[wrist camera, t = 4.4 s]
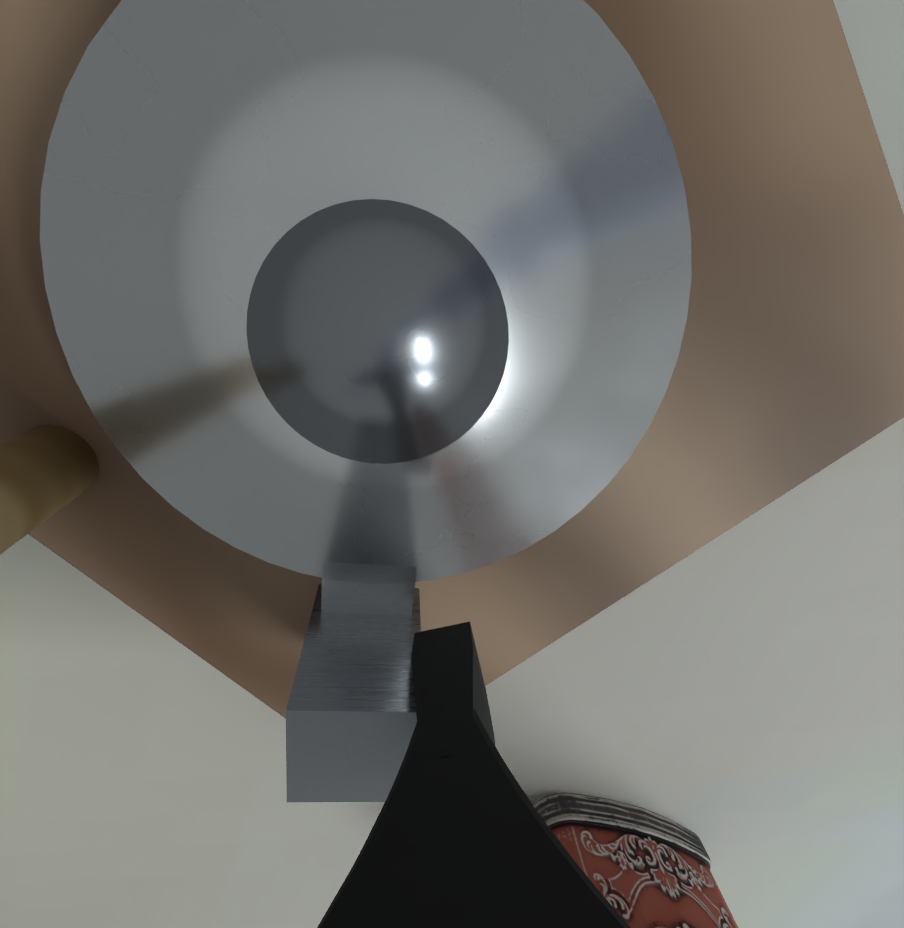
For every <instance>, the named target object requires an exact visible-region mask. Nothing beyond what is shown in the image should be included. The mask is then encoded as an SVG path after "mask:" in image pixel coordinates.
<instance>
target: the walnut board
mask: <svg viewBox="0 0 904 928" xmlns="http://www.w3.org/2000/svg"><path fill="white" fill-rule="evenodd" d="M121 1H122V0H0V554H1V553H3V552H4V551H5V550H7V549H8V548H9V547H11V546H12V545H13V544H15V543H16V542H17V541H19V540H20V539H21V538H23V537H24V536H25V535H27V534H29V535H31V536H32V537H33V538H35V539H36V540H38V541H39V542H40V543H42V544H43V545H45V546H46V547H47V548H49V549H50V550H52V551H53V552H54V553H56V554H57V555H58V556H60V557H61V558H63V559H64V560H65V561H67V562H68V563H70V564H71V565H72V566H74V567H75V568H77V569H78V570H79V571H81V572H82V573H84V574H85V575H86V576H88V577H89V578H91V579H92V580H93V581H95V582H96V583H98V584H99V585H100V586H102V587H103V588H105V589H106V590H107V591H109V592H110V593H111V594H113V595H114V596H116V597H117V598H118V599H120V600H121V601H123V602H124V603H125V604H127V605H128V606H130V607H131V608H132V609H134V610H135V611H137V612H138V613H139V614H141V615H142V616H144V617H145V618H146V619H148V620H149V621H151V622H152V623H153V624H155V625H156V626H158V627H159V628H160V629H162V630H163V631H164V632H166V633H167V634H169V635H170V636H171V637H173V638H174V639H176V640H177V641H178V642H180V643H181V644H183V645H184V646H185V647H187V648H188V649H190V650H191V651H192V652H194V653H195V654H197V655H198V656H199V657H201V658H202V659H204V660H205V661H206V662H208V663H209V664H211V665H212V666H213V667H215V668H216V669H217V670H219V671H220V672H222V673H223V674H224V675H226V676H227V677H229V678H230V679H231V680H233V681H234V682H236V683H237V684H238V685H240V686H241V687H243V688H244V689H245V690H247V691H248V692H250V693H251V694H252V695H254V696H255V697H257V698H258V699H259V700H261V701H262V702H264V703H265V704H266V705H268V706H269V707H270V708H272V709H273V710H275V711H276V712H277V713H279V714H280V715H282V716H283V717H284V718H286V708H287V705H288V701H289V697H290V693H291V689H292V686H293V682H294V678H295V674H296V670H297V666H298V663H299V659H300V655H301V651H302V647H303V643H304V640H305V636H306V632H307V628H308V624H309V620H310V617H311V613H312V609H313V605H314V601H315V597H316V594H317V590H318V586H319V584H322V578H321V577H316V576H312V575H307V574H302V573H299V572H296V571H293V570H290V569H287V568H284V567H280V566H277V565H274V564H271V563H268V562H266V561H264V560H261V559H259V558H257V557H255V556H253V555H250V554H248V553H246V552H244V551H241V550H239V549H237V548H235V547H233V546H231V545H230V544H228V543H226V542H225V541H223V540H221V539H219V538H218V537H216V536H214V535H213V534H211V533H209V532H207V531H206V530H204V529H203V528H201V527H200V526H198V525H197V524H196V523H194V522H193V521H192V520H190V519H189V518H188V517H186V516H185V515H184V514H182V513H181V512H180V511H178V510H177V509H175V508H174V507H173V506H172V505H171V504H169V503H168V502H167V501H166V500H165V499H164V498H163V497H162V496H161V495H160V494H159V493H158V492H157V491H155V490H154V489H153V488H152V487H151V486H150V485H149V484H148V483H147V482H146V481H145V480H144V479H143V478H142V477H141V476H140V475H139V474H138V473H137V471H136V470H135V469H134V468H133V467H132V466H131V464H130V463H129V462H128V461H127V460H126V459H125V458H124V456H123V455H122V454H121V453H120V452H119V451H118V449H117V448H116V447H115V445H114V444H113V442H112V441H111V439H110V438H109V437H108V435H107V434H106V432H105V431H104V429H103V428H102V426H101V425H100V423H99V422H98V420H97V419H96V418H95V416H94V415H93V413H92V411H91V409H90V407H89V405H88V404H87V402H86V400H85V398H84V396H83V394H82V392H81V390H80V388H79V386H78V385H77V383H76V381H75V379H74V377H73V375H72V372H71V370H70V367H69V365H68V362H67V359H66V357H65V354H64V352H63V349H62V346H61V344H60V341H59V338H58V336H57V333H56V329H55V325H54V321H53V317H52V313H51V309H50V305H49V301H48V297H47V293H46V289H45V282H44V273H43V264H42V255H41V247H40V204H41V186H42V180H43V174H44V168H45V162H46V156H47V150H48V144H49V139H50V136H51V133H52V130H53V127H54V124H55V121H56V117H57V114H58V111H59V108H60V105H61V102H62V99H63V96H64V93H65V90H66V88H67V86H68V84H69V82H70V80H71V78H72V76H73V75H74V73H75V71H76V69H77V67H78V65H79V63H80V61H81V59H82V57H83V55H84V53H85V51H86V49H87V47H88V45H89V44H90V42H91V41H92V39H93V38H94V37H95V35H96V34H97V33H98V31H99V30H100V29H101V27H102V26H103V24H104V23H105V22H106V20H107V19H108V18H109V16H110V15H111V14H112V12H113V11H114V9H115V8H116V7H117V5H118V4H119V3H120V2H121ZM584 1H585V2H586V3H587V4H588V5H589V6H590V7H591V8H592V9H593V10H594V11H595V12H596V13H597V14H598V15H599V16H600V17H601V19H602V20H603V21H604V23H605V24H606V25H607V26H608V28H609V29H610V30H611V32H612V33H613V34H614V36H615V37H616V38H617V39H618V41H619V42H620V43H621V45H622V46H623V47H624V48H625V50H626V51H627V52H628V54H629V55H630V57H631V58H632V60H633V62H634V64H635V65H636V67H637V69H638V71H639V72H640V74H641V76H642V78H643V79H644V81H645V83H646V84H647V86H648V88H649V90H650V91H651V93H652V95H653V97H654V99H655V101H656V103H657V106H658V108H659V111H660V113H661V116H662V118H663V120H664V123H665V125H666V128H667V130H668V133H669V135H670V138H671V140H672V142H673V146H674V150H675V153H676V157H677V161H678V165H679V168H680V172H681V176H682V180H683V183H684V187H685V193H686V200H687V208H688V215H689V222H690V230H691V271H692V277H691V287H690V296H689V306H688V315H687V321H686V325H685V330H684V334H683V339H682V343H681V347H680V352H679V356H678V359H677V362H676V365H675V368H674V371H673V374H672V376H671V379H670V382H669V385H668V388H667V391H666V393H665V396H664V398H663V400H662V402H661V404H660V406H659V408H658V410H657V412H656V414H655V416H654V418H653V420H652V422H651V424H650V426H649V428H648V430H647V431H646V433H645V434H644V436H643V437H642V439H641V441H640V442H639V444H638V445H637V447H636V448H635V450H634V451H633V453H632V455H631V456H630V458H629V459H628V460H627V461H626V463H625V464H624V465H623V466H622V468H621V469H620V470H619V471H618V473H617V474H616V475H615V476H614V477H613V479H612V480H611V481H610V482H609V484H608V485H607V486H606V487H605V488H604V489H603V490H602V491H601V492H600V493H599V494H598V495H597V496H596V497H595V498H594V499H593V500H592V501H591V502H590V503H589V504H588V505H587V506H586V507H584V508H583V509H582V510H581V511H580V512H579V513H577V514H576V515H575V516H574V517H572V518H571V519H570V520H568V521H567V522H566V523H565V524H563V525H562V526H561V527H559V528H558V529H557V530H556V531H554V532H552V533H551V534H549V535H547V536H546V537H544V538H543V539H541V540H539V541H538V542H536V543H534V544H533V545H531V546H530V547H528V548H526V549H524V550H522V551H520V552H518V553H515V554H513V555H511V556H509V557H507V558H505V559H503V560H501V561H499V562H496V563H493V564H490V565H487V566H484V567H481V568H479V569H476V570H473V571H470V572H467V573H463V574H458V575H454V576H449V577H445V578H441V579H436V580H429V581H420V582H415V588H419V594H420V619H421V632H422V631H426V630H431V629H436V628H441V627H442V628H443V627H446V626H450V625H455V624H460V623H465V622H470V624H471V628H472V632H473V637H474V641H475V645H476V650H477V654H478V658H479V663H480V667H481V671H482V675H483V680H484V684H485V686H486V685H487V684H489V683H490V682H492V681H493V680H495V679H496V678H498V677H500V676H501V675H503V674H504V673H506V672H507V671H509V670H510V669H512V668H514V667H515V666H517V665H518V664H520V663H521V662H523V661H525V660H526V659H528V658H529V657H531V656H532V655H534V654H535V653H537V652H539V651H540V650H542V649H543V648H545V647H546V646H548V645H549V644H551V643H553V642H554V641H556V640H557V639H559V638H560V637H562V636H563V635H565V634H567V633H568V632H570V631H571V630H573V629H574V628H576V627H577V626H579V625H581V624H582V623H584V622H585V621H587V620H588V619H590V618H592V617H593V616H595V615H596V614H598V613H599V612H601V611H602V610H604V609H606V608H607V607H609V606H610V605H612V604H613V603H615V602H616V601H618V600H620V599H621V598H623V597H624V596H626V595H627V594H629V593H630V592H632V591H634V590H635V589H637V588H638V587H640V586H641V585H643V584H645V583H646V582H648V581H649V580H651V579H652V578H654V577H655V576H657V575H659V574H660V573H662V572H663V571H665V570H666V569H668V568H669V567H671V566H673V565H674V564H676V563H677V562H679V561H680V560H682V559H683V558H685V557H687V556H688V555H690V554H691V553H693V552H694V551H696V550H698V549H699V548H701V547H702V546H704V545H705V544H707V543H708V542H710V541H712V540H713V539H715V538H716V537H718V536H719V535H721V534H722V533H724V532H726V531H727V530H729V529H730V528H732V527H733V526H735V525H736V524H738V523H740V522H741V521H743V520H744V519H746V518H747V517H749V516H750V515H752V514H754V513H755V512H757V511H758V510H760V509H761V508H763V507H765V506H766V505H768V504H769V503H771V502H772V501H774V500H775V499H777V498H779V497H780V496H782V495H783V494H785V493H786V492H788V491H789V490H791V489H793V488H794V487H796V486H797V485H799V484H800V483H802V482H803V481H805V480H807V479H808V478H810V477H811V476H813V475H814V474H816V473H818V472H819V471H821V470H822V469H824V468H825V467H827V466H828V465H830V464H832V463H833V462H835V461H836V460H838V459H839V458H841V457H842V456H844V455H846V454H847V453H849V452H850V451H852V450H853V449H855V448H856V447H858V446H860V445H861V444H863V443H864V442H866V441H867V440H869V439H871V438H872V437H874V436H875V435H877V434H878V433H880V432H881V431H883V430H885V429H886V428H888V427H889V426H891V425H892V424H894V423H895V422H897V421H899V420H900V419H902V418H903V417H904V215H903V212H902V209H901V206H900V203H899V200H898V197H897V194H896V190H895V187H894V184H893V181H892V178H891V175H890V172H889V169H888V166H887V163H886V160H885V157H884V154H883V151H882V148H881V145H880V142H879V139H878V136H877V133H876V130H875V127H874V124H873V121H872V117H871V114H870V111H869V108H868V105H867V102H866V99H865V96H864V93H863V90H862V87H861V84H860V81H859V78H858V75H857V72H856V69H855V66H854V63H853V60H852V57H851V54H850V51H849V48H848V44H847V41H846V38H845V35H844V32H843V29H842V26H841V23H840V20H839V17H838V14H837V11H836V8H835V5H834V2H833V0H584Z"/></svg>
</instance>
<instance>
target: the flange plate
mask: <svg viewBox="0 0 904 928" xmlns="http://www.w3.org/2000/svg"><path fill="white" fill-rule="evenodd" d="M40 247H41V255H42V264H43V273H44V282H45V289H46V293H47V297H48V301H49V305H50V309H51V313H52V317H53V321H54V325H55V329H56V333H57V336H58V338H59V341H60V344H61V346H62V349H63V352H64V354H65V357H66V359H67V362H68V365H69V367H70V370H71V372H72V375H73V377H74V379H75V381H76V383H77V385H78V386H79V388H80V390H81V392H82V394H83V396H84V398H85V400H86V402H87V404H88V405H89V407H90V409H91V411H92V413H93V415H94V416H95V418H96V419H97V420H98V422H99V423H100V425H101V426H102V428H103V429H104V431H105V432H106V434H107V435H108V437H109V438H110V439H111V441H112V442H113V444H114V445H115V447H116V448H117V449H118V451H119V452H120V453H121V454H122V455H123V456H124V458H125V459H126V460H127V461H128V462H129V463H130V464H131V466H132V467H133V468H134V469H135V470H136V471H137V473H138V474H139V475H140V476H141V477H142V478H143V479H144V480H145V481H146V482H147V483H148V484H149V485H150V486H151V487H152V488H153V489H154V490H155V491H157V492H158V493H159V494H160V495H161V496H162V497H163V498H164V499H165V500H166V501H167V502H168V503H169V504H171V505H172V506H173V507H174V508H175V509H177V510H178V511H180V512H181V513H182V514H184V515H185V516H186V517H188V518H189V519H190V520H192V521H193V522H194V523H196V524H197V525H198V526H200V527H201V528H203V529H204V530H206V531H207V532H209V533H211V534H213V535H214V536H216V537H218V538H219V539H221V540H223V541H225V542H226V543H228V544H230V545H231V546H233V547H235V548H237V549H239V550H241V551H244V552H246V553H248V554H250V555H253V556H255V557H257V558H259V559H261V560H264V561H266V562H268V563H271V564H274V565H277V566H280V567H284V568H287V569H290V570H293V571H296V572H299V573H302V574H307V575H312V576H316V577H321V578H322V584H319V586H318V590H317V594H316V597H315V601H314V605H313V609H312V613H311V617H310V620H309V624H308V628H307V632H306V636H305V640H304V643H303V647H302V651H301V655H300V659H299V663H298V666H297V670H296V674H295V678H294V682H293V686H292V689H291V693H290V697H289V701H288V705H287V708H286V761H287V802H382V801H386V799H387V797H388V794H389V792H390V790H391V788H392V786H393V783H394V781H395V779H396V776H397V774H398V771H399V769H400V766H401V764H402V762H403V759H404V756H405V754H406V751H407V748H408V746H409V743H410V740H411V737H412V734H413V732H414V729H415V726H416V723H417V714H416V703H415V692H414V680H413V668H412V650H413V641H414V634H415V633H417V632H421V619H420V594H419V588H415V582H420V581H429V580H436V579H441V578H445V577H449V576H454V575H458V574H463V573H467V572H470V571H473V570H476V569H479V568H481V567H484V566H487V565H490V564H493V563H496V562H499V561H501V560H503V559H505V558H507V557H509V556H511V555H513V554H515V553H518V552H520V551H522V550H524V549H526V548H528V547H530V546H531V545H533V544H534V543H536V542H538V541H539V540H541V539H543V538H544V537H546V536H547V535H549V534H551V533H552V532H554V531H556V530H557V529H558V528H559V527H561V526H562V525H563V524H565V523H566V522H567V521H568V520H570V519H571V518H572V517H574V516H575V515H576V514H577V513H579V512H580V511H581V510H582V509H583V508H584V507H586V506H587V505H588V504H589V503H590V502H591V501H592V500H593V499H594V498H595V497H596V496H597V495H598V494H599V493H600V492H601V491H602V490H603V489H604V488H605V487H606V486H607V485H608V484H609V482H610V481H611V480H612V479H613V477H614V476H615V475H616V474H617V473H618V471H619V470H620V469H621V468H622V466H623V465H624V464H625V463H626V461H627V460H628V459H629V458H630V456H631V455H632V453H633V451H634V450H635V448H636V447H637V445H638V444H639V442H640V441H641V439H642V437H643V436H644V434H645V433H646V431H647V430H648V428H649V426H650V424H651V422H652V420H653V418H654V416H655V414H656V412H657V410H658V408H659V406H660V404H661V402H662V400H663V398H664V396H665V393H666V391H667V388H668V385H669V382H670V379H671V376H672V374H673V371H674V368H675V365H676V362H677V359H678V356H679V352H680V347H681V343H682V339H683V334H684V330H685V325H686V321H687V315H688V306H689V296H690V287H691V277H692V271H691V230H690V222H689V215H688V208H687V200H686V193H685V187H684V183H683V180H682V176H681V172H680V168H679V165H678V161H677V157H676V153H675V150H674V146H673V142H672V140H671V138H670V135H669V133H668V130H667V128H666V125H665V123H664V120H663V118H662V116H661V113H660V111H659V108H658V106H657V103H656V101H655V99H654V97H653V95H652V93H651V91H650V90H649V88H648V86H647V84H646V83H645V81H644V79H643V78H642V76H641V74H640V72H639V71H638V69H637V67H636V65H635V64H634V62H633V60H632V58H631V57H630V55H629V54H628V52H627V51H626V50H625V48H624V47H623V46H622V45H621V43H620V42H619V41H618V39H617V38H616V37H615V36H614V34H613V33H612V32H611V30H610V29H609V28H608V26H607V25H606V24H605V23H604V21H603V20H602V19H601V17H600V16H599V15H598V14H597V13H596V12H595V11H594V10H593V9H592V8H591V7H590V6H589V5H588V4H587V3H586V2H585V1H584V0H122V1H121V2H120V3H119V4H118V5H117V7H116V8H115V9H114V11H113V12H112V14H111V15H110V16H109V18H108V19H107V20H106V22H105V23H104V24H103V26H102V27H101V29H100V30H99V31H98V33H97V34H96V35H95V37H94V38H93V39H92V41H91V42H90V44H89V45H88V47H87V49H86V51H85V53H84V55H83V57H82V59H81V61H80V63H79V65H78V67H77V69H76V71H75V73H74V75H73V76H72V78H71V80H70V82H69V84H68V86H67V88H66V90H65V93H64V96H63V99H62V102H61V105H60V108H59V111H58V114H57V117H56V121H55V124H54V127H53V130H52V133H51V136H50V139H49V144H48V150H47V156H46V162H45V168H44V174H43V180H42V186H41V204H40Z"/></svg>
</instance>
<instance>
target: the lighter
mask: <svg viewBox="0 0 904 928" xmlns="http://www.w3.org/2000/svg"><path fill="white" fill-rule="evenodd" d="M534 807H535V809H536V810H537V812H538V813H539V814H540V816H541V817H542V818H543V820H544V821H545V822H546V824H547V825H548V826H549V828H550V829H551V830H552V832H553V833H554V834H555V836H556V837H557V838H558V840H559V841H560V842H561V844H562V845H563V846H564V848H565V849H566V850H567V852H568V853H569V854H570V856H571V857H572V858H573V859H574V861H575V862H576V863H577V864H578V866H579V867H580V868H581V869H582V871H583V872H584V873H585V874H586V875H587V877H588V878H589V879H590V880H591V882H592V883H593V884H594V885H595V887H596V888H597V889H598V890H599V891H600V892H601V894H602V895H603V896H604V897H605V898H606V899H607V901H608V902H609V903H610V904H611V905H612V907H613V908H614V909H615V910H616V911H617V912H618V914H619V915H620V916H621V917H622V918H623V919H624V920H625V921H626V923H627V924H628V925H629V926H630V927H631V928H738V927H737V925H736V923H735V920H734V918H733V916H732V914H731V912H730V910H729V908H728V906H727V904H726V902H725V900H724V898H723V896H722V894H721V892H720V890H719V888H718V886H717V884H716V882H715V880H714V878H713V876H712V874H711V871H712V862H711V860H710V858H709V856H708V854H707V852H706V850H705V848H704V846H703V844H702V842H701V840H700V838H699V837H698V836H697V835H696V834H695V833H693V832H691V831H689V830H688V829H686V828H684V827H682V826H681V825H679V824H677V823H675V822H674V821H672V820H670V819H667V818H665V817H662V816H660V815H657V814H655V813H653V812H650V811H648V810H645V809H643V808H639V807H635V806H632V805H628V804H624V803H620V802H616V801H612V800H608V799H603V798H596V797H590V796H583V795H577V794H570V793H560V794H556V795H552V796H548V797H546V798H544V799H542V800H540V801H538V802H537V803H536V804H535V805H534Z"/></svg>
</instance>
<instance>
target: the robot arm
mask: <svg viewBox="0 0 904 928" xmlns="http://www.w3.org/2000/svg"><path fill="white" fill-rule="evenodd" d="M412 668H413V680H414V692H415V703H416V714H417V723H416V726H415V729H414V732H413V734H412V737H411V740H410V743H409V746H408V748H407V751H406V754H405V756H404V759H403V762H402V764H401V766H400V769H399V771H398V774H397V776H396V779H395V781H394V783H393V786H392V788H391V790H390V792H389V794H388V797H387V799H386V801H385V803H384V806H383V808H382V810H381V812H380V814H379V816H378V818H377V820H376V822H375V824H374V826H373V828H372V830H371V832H370V834H369V836H368V838H367V840H366V842H365V844H364V846H363V848H362V850H361V852H360V854H359V856H358V858H357V860H356V861H355V863H354V865H353V867H352V869H351V871H350V872H349V874H348V876H347V878H346V879H345V881H344V883H343V884H342V886H341V888H340V890H339V891H338V893H337V895H336V896H335V898H334V900H333V902H332V903H331V905H330V907H329V909H328V910H327V912H326V914H325V915H324V917H323V919H322V921H321V922H320V924H319V926H318V927H317V928H631V927H630V926H629V925H628V924H627V923H626V921H625V920H624V919H623V918H622V917H621V916H620V915H619V914H618V912H617V911H616V910H615V909H614V908H613V907H612V905H611V904H610V903H609V902H608V901H607V899H606V898H605V897H604V896H603V895H602V894H601V892H600V891H599V890H598V889H597V888H596V887H595V885H594V884H593V883H592V882H591V880H590V879H589V878H588V877H587V875H586V874H585V873H584V872H583V871H582V869H581V868H580V867H579V866H578V864H577V863H576V862H575V861H574V859H573V858H572V857H571V856H570V854H569V853H568V852H567V850H566V849H565V848H564V846H563V845H562V844H561V842H560V841H559V840H558V838H557V837H556V836H555V834H554V833H553V832H552V830H551V829H550V828H549V826H548V825H547V824H546V822H545V821H544V820H543V818H542V817H541V816H540V814H539V813H538V812H537V810H536V809H535V807H534V806H533V805H532V803H531V802H530V800H529V799H528V797H527V796H526V794H525V793H524V791H523V790H522V788H521V787H520V785H519V784H518V783H517V781H516V779H515V778H514V776H513V775H512V773H511V772H510V770H509V768H508V767H507V765H506V764H505V762H504V761H503V759H502V757H501V756H500V754H499V752H498V751H497V749H496V747H495V740H494V732H493V727H492V721H491V716H490V710H489V705H488V699H487V694H486V688H485V684H484V680H483V675H482V671H481V667H480V663H479V658H478V654H477V650H476V645H475V641H474V637H473V632H472V628H471V624H470V622H465V623H460V624H455V625H450V626H446V627H443V628H442V627H441V628H436V629H431V630H426V631H422V632H417V633H415V634H414V641H413V650H412Z"/></svg>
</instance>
